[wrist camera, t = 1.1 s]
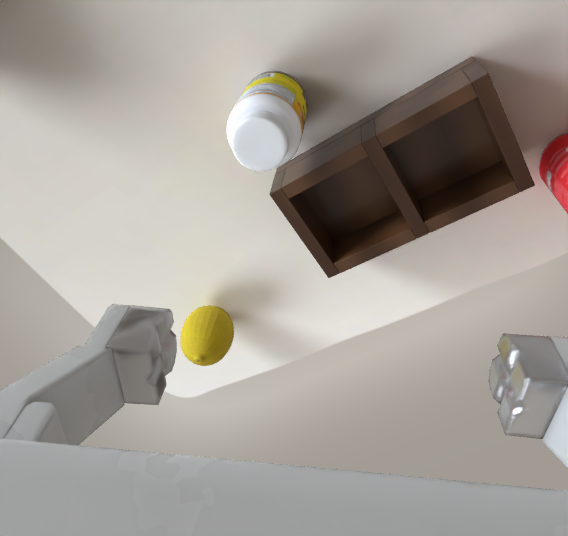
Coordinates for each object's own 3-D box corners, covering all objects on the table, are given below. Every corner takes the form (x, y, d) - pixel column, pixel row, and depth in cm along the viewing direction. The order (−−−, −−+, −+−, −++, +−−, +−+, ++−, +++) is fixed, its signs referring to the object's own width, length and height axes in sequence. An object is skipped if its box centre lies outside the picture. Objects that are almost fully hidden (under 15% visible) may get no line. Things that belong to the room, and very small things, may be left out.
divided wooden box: (472, 55, 40) (488, 73, 35) (516, 158, 44) (535, 185, 39) (276, 168, 47) (268, 194, 42) (330, 246, 51) (328, 278, 46)
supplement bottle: (291, 144, 45) (277, 195, 37) (234, 116, 44) (207, 161, 36) (320, 87, 42) (313, 129, 34) (260, 56, 41) (237, 90, 33)
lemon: (244, 299, 56) (230, 349, 49) (234, 334, 59) (219, 385, 53) (195, 285, 56) (175, 334, 49) (188, 321, 59) (168, 372, 52)
